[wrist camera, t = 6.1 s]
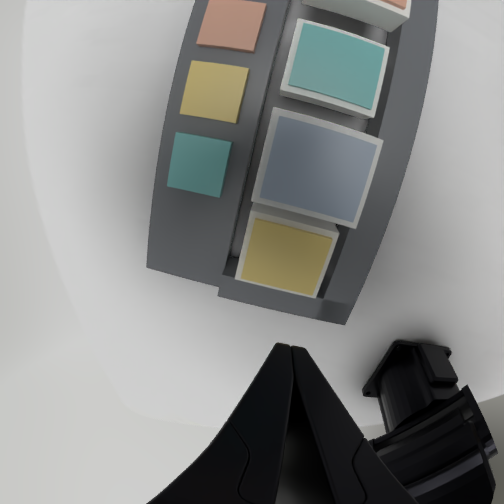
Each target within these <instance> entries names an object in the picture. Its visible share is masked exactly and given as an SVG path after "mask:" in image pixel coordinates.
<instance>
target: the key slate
mask: <svg viewBox="0 0 504 504" xmlns="http://www.w3.org/2000/svg"><path fill="white" fill-rule="evenodd" d="M383 141H384V140H382V139H379V138H376V137H374V136H371V135H368V134H365V133H362V132H360V131H357V130H354V129H351V128H348V127H345V126H342V125H338V124H335V123H332V122H329V121H325V120H322V119H319V118H315V117H312V116H308V115H304V114H301V113H297V112H293V111H289V110H285V109H281V108H277V107H273V110H272V114H271V118H270V122H269V126H268V131H267V135H266V139H265V143H264V147H263V151H262V155H261V160H260V164H259V168H258V172H257V176H256V181H255V185H254V189H253V193H252V197H251V201H253V202H257V203H261V204H265V205H269V206H273V207H277V208H281V209H285V210H288V211H292V212H296V213H300V214H304V215H307V216H311V217H315V218H318V219H322V220H326V221H329V222H333V223H336V224H340V225H344V226H347V227H350V228H354V229H356V227H357V224H358V221H359V219H360V216H361V213H362V210H363V207H364V204H365V201H366V198H367V194H368V191H369V188H370V185H371V182H372V179H373V175H374V172H375V169H376V165H377V162H378V158H379V155H380V151H381V148H382V144H383Z"/></svg>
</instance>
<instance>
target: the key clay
mask: <svg viewBox="0 0 504 504" xmlns="http://www.w3.org/2000/svg"><path fill="white" fill-rule="evenodd" d="M302 4H304V5H308V6H312V7H316V8H320V9H324V10H327V11H331V12H334V13H338V14H341V15H344V16H347V17H350V18H353V19H356V20H359V21H362V22H365V23H368V24H370V25H373V26H376V27H378V28H381V29H383V30H386V31H388V32H390V33H391V32H392V31H393V30H395V29H396V28H397V27H399V26H400V25H401V24H402V23H404V22H405V21H406V20H408V19H409V15H410V8H411V0H302Z"/></svg>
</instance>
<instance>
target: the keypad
mask: <svg viewBox="0 0 504 504" xmlns="http://www.w3.org/2000/svg"><path fill="white" fill-rule="evenodd" d="M290 1H291V0H195V3H194V6H193V10H192V13H191V16H190V19H189V22H188V26H187V29H186V33H185V36H184V40H183V43H182V47H181V51H180V54H179V58H178V62H177V66H176V70H175V74H174V79H173V83H172V87H171V92H170V96H169V101H168V106H167V111H166V116H165V121H164V126H163V132H162V137H161V143H160V149H159V155H158V162H157V169H156V176H155V183H154V191H153V199H152V208H151V217H150V227H149V239H148V252H147V267H146V268H150V269H154V270H157V271H161V272H164V273H168V274H171V275H175V276H179V277H182V278H186V279H190V280H194V281H197V282H201V283H205V284H209V285H213V286H216V287H219V292H218V296H219V297H223V298H227V299H231V300H235V301H239V302H243V303H247V304H251V305H255V306H259V307H263V308H268V309H272V310H276V311H281V312H285V313H289V314H294V315H298V316H303V317H308V318H312V319H317V320H322V321H326V322H331V323H336V324H341V325H345V324H346V322H347V320H348V317H349V315H350V313H351V311H352V309H353V307H354V305H355V303H356V300H357V298H358V296H359V294H360V292H361V289H362V287H363V285H364V282H365V280H366V278H367V276H368V273H369V271H370V268H371V266H372V264H373V261H374V259H375V256H376V254H377V251H378V249H379V246H380V244H381V241H382V238H383V236H384V233H385V231H386V228H387V225H388V222H389V220H390V217H391V214H392V211H393V208H394V205H395V203H396V200H397V197H398V194H399V191H400V187H401V184H402V181H403V178H404V175H405V172H406V168H407V165H408V161H409V158H410V155H411V151H412V147H413V144H414V140H415V136H416V132H417V128H418V124H419V120H420V116H421V112H422V107H423V103H424V98H425V93H426V88H427V83H428V78H429V73H430V67H431V61H432V54H433V48H434V40H435V32H436V23H437V13H438V0H411V8H410V15H409V19H408V20H406V21H405V22H404V23H402V24H401V25H400V26H399V27H397V28H396V29H395V30H393V31H392V32H391V33H390V32H388V36H387V42H386V46H387V47H390V49H389V54H388V59H387V64H386V69H385V74H384V78H383V83H382V87H381V92H380V96H379V100H378V104H377V108H376V112H375V116H374V118H369V122H368V126H367V130H366V133H365V134H368V135H371V136H374V137H376V138H379V139H382V140H384V141H383V144H382V148H381V151H380V155H379V158H378V162H377V165H376V169H375V172H374V175H373V179H372V182H371V185H370V188H369V191H368V194H367V198H366V201H365V204H364V207H363V210H362V213H361V216H360V219H359V221H358V224H357V227H356V229H354V228H350V227H347V226H344V225H340V224H338V226H337V230H338V232H339V236H338V239H337V242H336V245H335V248H334V250H333V253H332V256H331V259H330V262H329V264H328V267H327V270H326V272H325V275H324V278H323V280H322V283H321V286H320V288H319V291H318V293H317V296H316V298H311V297H306V296H302V295H298V294H293V293H289V292H285V291H281V290H276V289H272V288H268V287H264V286H260V285H256V284H252V283H248V282H244V281H240V280H236V279H235V275H236V271H237V266H238V262H239V259H238V258H234V257H230V256H229V255H230V250H231V246H232V241H233V237H234V232H235V227H236V223H237V218H238V214H239V209H240V205H241V200H242V196H243V191H244V187H245V183H246V178H247V174H248V170H249V165H250V161H251V157H252V152H253V148H254V144H255V140H256V135H257V131H258V127H259V123H260V119H261V115H262V110H263V106H264V102H265V98H266V94H267V90H268V86H269V82H270V78H271V74H272V70H273V66H274V62H275V58H276V54H277V50H278V47H279V43H280V39H281V35H282V31H283V27H284V24H285V20H286V16H287V12H288V9H289V5H290Z"/></svg>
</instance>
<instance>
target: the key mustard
mask: <svg viewBox="0 0 504 504" xmlns="http://www.w3.org/2000/svg"><path fill="white" fill-rule="evenodd" d="M338 236H339V232H338V230H337V228H336V226H335V224H334V223H333V222H329V221H326V220H322V219H318V218H315V217H311V216H307V215H304V214H300V213H296V212H292V211H288V210H285V209H281V208H277V207H273V206H269V205H265V204H261V203H257V202H254V203H253V205H252V208H251V211H250V215H249V219H248V223H247V228H246V232H245V236H244V241H243V245H242V249H241V253H240V258H239V262H238V266H237V271H236V275H235V279H236V280H240V281H244V282H248V283H252V284H256V285H260V286H264V287H268V288H272V289H276V290H281V291H285V292H289V293H293V294H298V295H302V296H306V297H311V298H316V296H317V293H318V291H319V288H320V286H321V283H322V280H323V278H324V275H325V272H326V270H327V267H328V264H329V262H330V259H331V256H332V253H333V250H334V248H335V245H336V242H337V239H338Z"/></svg>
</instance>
